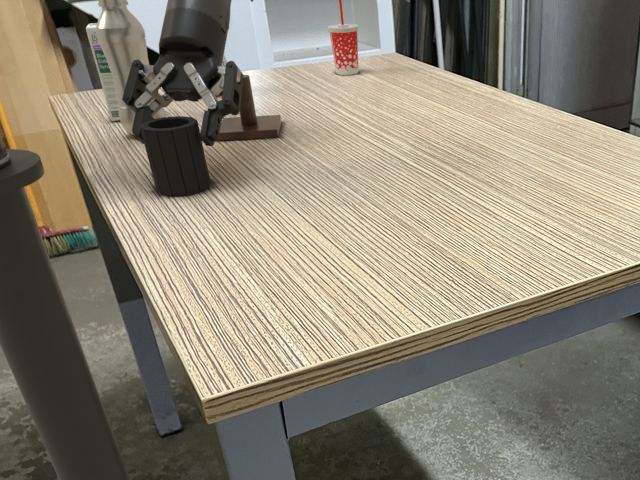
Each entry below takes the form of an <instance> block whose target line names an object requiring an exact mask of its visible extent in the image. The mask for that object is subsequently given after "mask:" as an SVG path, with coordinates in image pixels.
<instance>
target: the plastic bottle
mask: <svg viewBox="0 0 640 480" xmlns="http://www.w3.org/2000/svg"><path fill="white" fill-rule="evenodd" d="M97 5H98V7H99V8H101V12H100V15H99V17H98V19H97V22H96V23H97V25H96V36H97V38H98V41H99V42H100V46H101V48H102V50H103V53H104V55H105V57H106V60H107V62H108V65H109V68H110V71H111V72H112V77H113V80H114V84H115V89H116V94H117V99H118V103H119V105H118V111H119V117H120V120H119V122H120V123H121V125H122V128H123V129H124V131H126V132H127V133H128V134H129V135H133V136H135V135H134V134H133V132H132V127H133V123H134V117H135V112H134V111H133V110H132V109H131V108H130V107H129V106H127V105H126V104H125V103H124V102H123V100H122V97H123V94H124V90H125V87H126V83H127V79H128V76H129V72H130V69H131V65H132V62H133V61H134V60H140V61H141V63H142V64H143V65H150V61H149V57H148V48H147V47H148V46H147V39H146V31H145V28H144V26H143V25H142V23H141V22H140V21H139V20H138V19H137V17H136V16H135V15H134V14H133V13H132V12H131V11H130V10H129V9H128V7H127V6H128V5H129V1H128V0H97ZM153 79H154V78H153ZM153 79H152V80H153ZM153 101H154V99H153V100H152V101H151V102H150V103H149V104H148V105H150V104H151V103H152V102H153ZM163 117H167V114H166V111H165V107H162V108H161V109H160V110H159V111H158V112H157V113H156V114H155V115H154V116H153V118H154V119H157V118H163Z"/></svg>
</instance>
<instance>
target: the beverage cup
mask: <svg viewBox="0 0 640 480" xmlns="http://www.w3.org/2000/svg"><path fill="white" fill-rule="evenodd" d="M338 2H339V13H340V23H339V24H338V23H337V24H331V25H328V26H327V29H328V30H327V31H328V32H329V38H330V43H331V48H332V56H333V61H334V68H335V72H336V75H339V76H350V75H351V76H352V75H357V74H359V49H358V48H359V47H358V46H359V44H358V31H359V25H358V24H355V23H344V22H345V21H344V12H343V4H342V3H343V2H342V0H338Z"/></svg>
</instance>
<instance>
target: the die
mask: <svg viewBox="0 0 640 480" xmlns="http://www.w3.org/2000/svg"><path fill="white" fill-rule="evenodd" d="M227 62H228V61H227V59H226V57H225V55H224V56H223V61H222V65H221V66H226V64H227ZM223 85H224V81H223V79H222V77H221V79H220V80H219V82H218V83H217V84H216V85H215V86H214V87H213V88H212V89H211V90H212V92H213V93H214V95H215V96H216V97H217V96H219V95H220V94H221V93H222V92H223Z"/></svg>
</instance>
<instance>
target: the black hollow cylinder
mask: <svg viewBox="0 0 640 480" xmlns="http://www.w3.org/2000/svg"><path fill="white" fill-rule="evenodd" d="M140 129H141V133H142V137H143V141H144V144H143V145H144V148H145V152H146V156H147V159H148V165H149V168H150V171H151V175H152V178H153V179H152V180H153V183H154V186H155V190H156V192H157V193H158V194H160V195H161V196H167V197H181V196H190V195H194V194H199V193H201V192H203V191H205V190H208V189H209V188H210V186H211V183H212V182H211V178H210V173H209V168H208V163H207V159H206V158H207V157H206V154H205V149H204V143H203V141H202V140H201V139H200V132H201V129H200V127H199V121H198V119H196V118H195V117H191V116H184V115H177V116H176V115H174V116H166V117H163V118H157V119H153V120H150V121H147V122H144V123H142V124H141V126H140Z"/></svg>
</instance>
